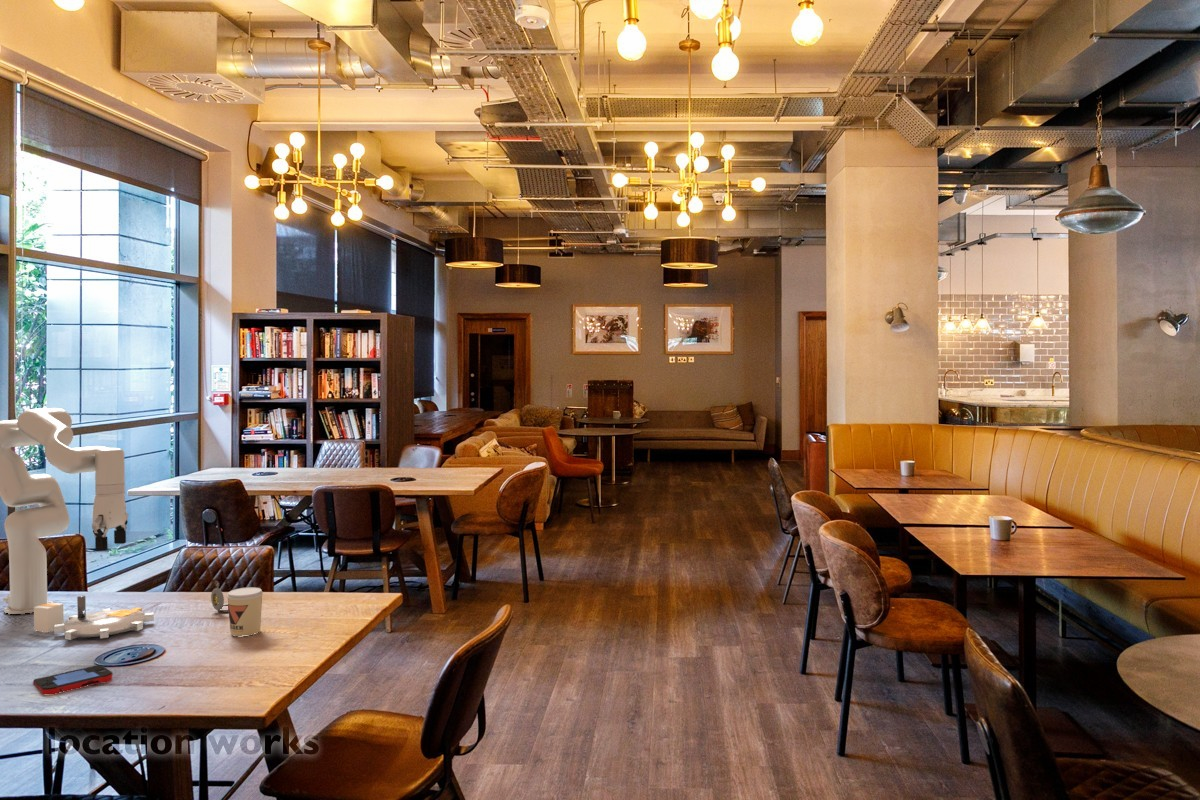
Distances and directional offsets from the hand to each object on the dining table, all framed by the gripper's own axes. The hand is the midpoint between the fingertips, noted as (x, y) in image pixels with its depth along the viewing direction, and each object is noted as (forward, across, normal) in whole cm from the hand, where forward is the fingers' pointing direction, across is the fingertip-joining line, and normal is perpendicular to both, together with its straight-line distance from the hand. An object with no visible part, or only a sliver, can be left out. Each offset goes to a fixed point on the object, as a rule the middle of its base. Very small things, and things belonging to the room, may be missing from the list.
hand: (111, 546), depth 242 cm
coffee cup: (+22, +12, +44) cm, 51 cm away
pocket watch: (+22, -10, +29) cm, 38 cm away
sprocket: (+21, +8, +3) cm, 23 cm away
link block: (+22, +7, -14) cm, 27 cm away
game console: (+23, +48, +18) cm, 56 cm away
